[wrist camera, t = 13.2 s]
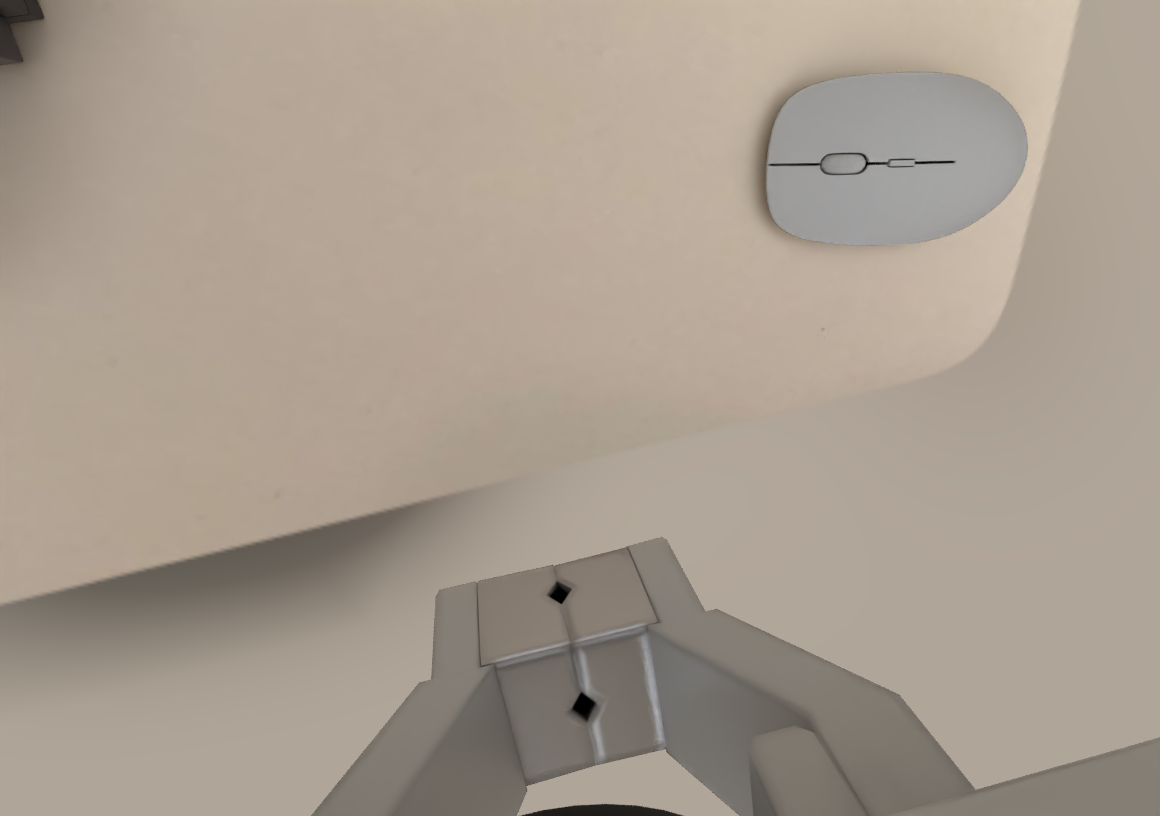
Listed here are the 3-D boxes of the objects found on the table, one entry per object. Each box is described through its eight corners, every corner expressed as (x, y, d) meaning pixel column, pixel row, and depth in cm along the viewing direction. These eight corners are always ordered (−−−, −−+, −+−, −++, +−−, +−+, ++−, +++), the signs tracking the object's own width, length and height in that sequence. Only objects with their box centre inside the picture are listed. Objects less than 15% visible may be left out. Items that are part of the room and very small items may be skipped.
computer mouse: (763, 77, 25) (801, 69, 22) (1004, 76, 26) (1068, 68, 24) (751, 243, 27) (784, 254, 24) (975, 233, 29) (1031, 242, 26)
